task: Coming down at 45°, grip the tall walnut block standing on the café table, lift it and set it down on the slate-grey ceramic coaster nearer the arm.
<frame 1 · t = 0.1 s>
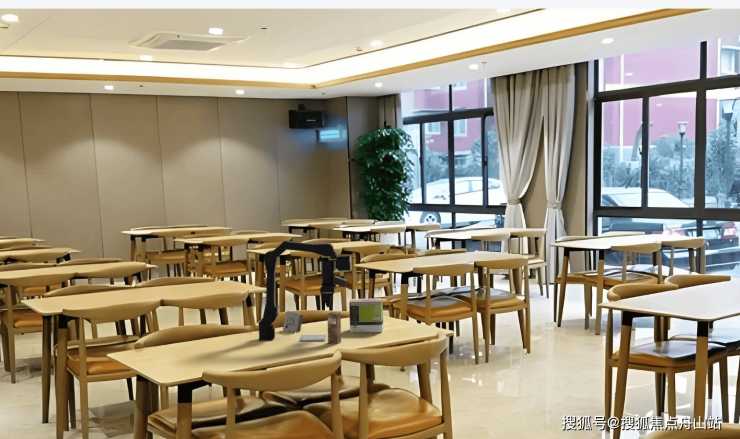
hand: (328, 305, 321), 15 cm above the table, tool pointing down, fingers open, 9 cm apart
electrical switch: (292, 331, 340), on the table
slate coaster: (313, 338, 321), on the table
tea box: (366, 331, 337), on the table
walnut block: (334, 342, 312), on the table
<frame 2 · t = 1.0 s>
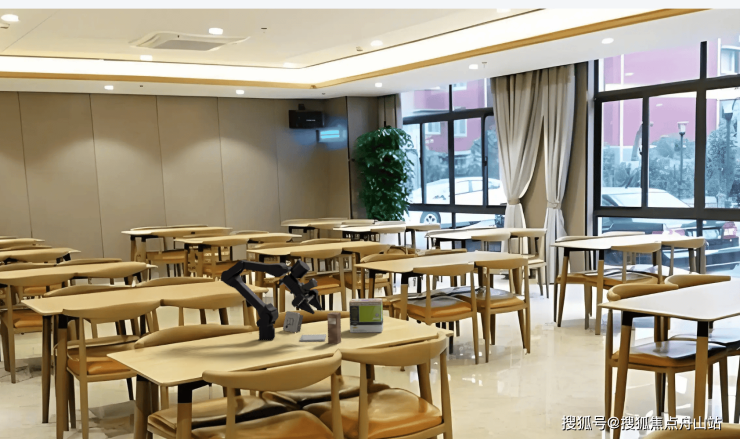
hand: (317, 311, 314), 13 cm above the table, tool tilted 45°, fingers open, 9 cm apart
nothing on the table moved.
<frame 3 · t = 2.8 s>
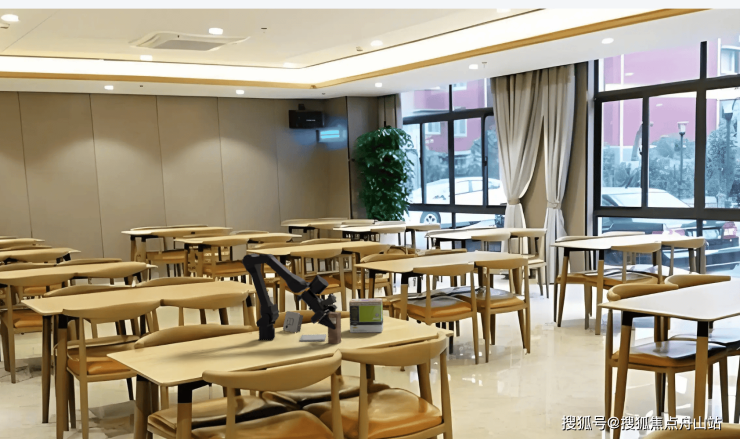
hand: (337, 327, 311), 7 cm above the table, tool tilted 45°, fingers closed on walnut block, 5 cm apart
walnut block: (334, 342, 312), on the table, touching gripper
everything else where it was.
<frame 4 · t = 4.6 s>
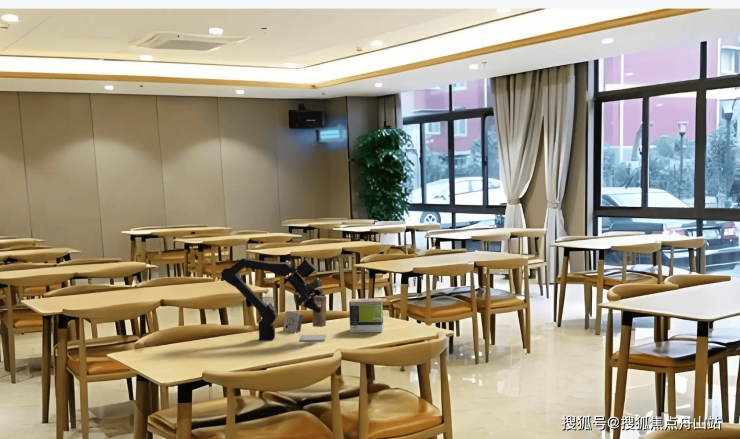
hand: (322, 311, 317), 13 cm above the table, tool tilted 45°, fingers closed on walnut block, 5 cm apart
walnut block: (319, 325, 317), point 6 cm above the table, touching gripper
everything else where it was.
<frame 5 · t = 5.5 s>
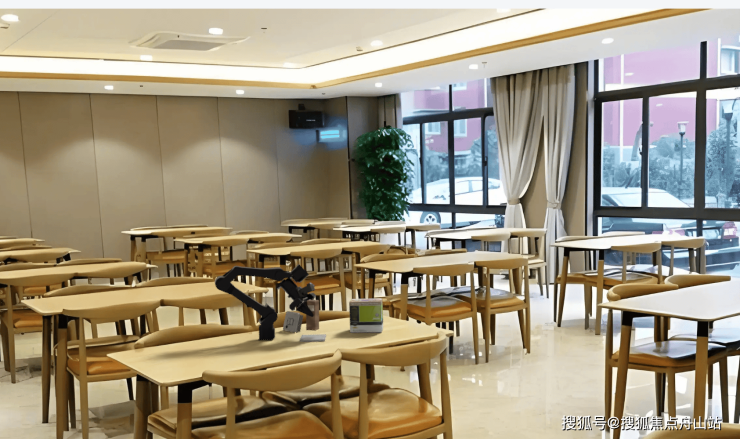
hand: (315, 315, 320), 11 cm above the table, tool tilted 45°, fingers closed on walnut block, 5 cm apart
walnut block: (312, 329, 321), point 4 cm above the table, touching gripper
everything else where it was.
when the fingers open (7 cm above the table, at t = 6.4 s): walnut block stays where it is, resting on slate coaster.
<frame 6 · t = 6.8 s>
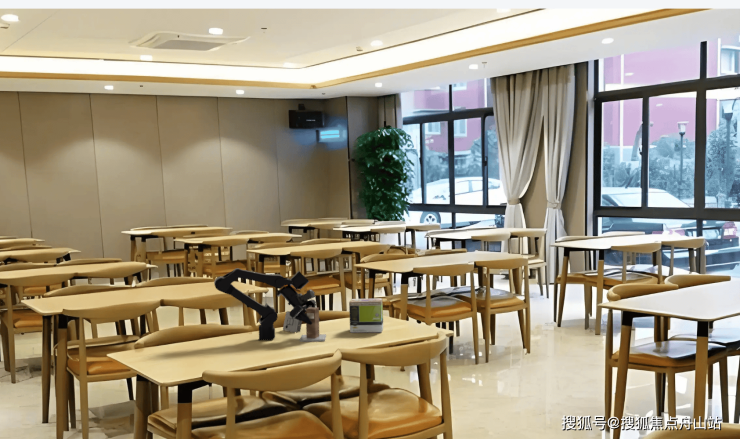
hand: (315, 322, 320), 8 cm above the table, tool tilted 45°, fingers open, 9 cm apart
walnut block: (312, 337, 321), point 1 cm above the table, touching slate coaster
everything else where it was.
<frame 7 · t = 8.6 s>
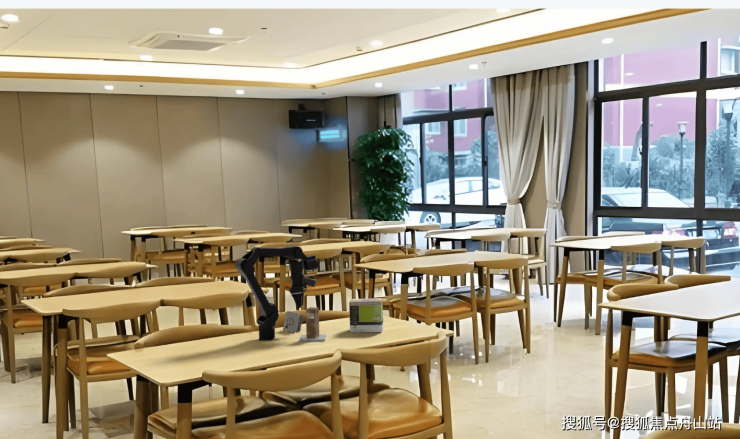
hand: (301, 306, 329), 13 cm above the table, tool pointing down, fingers open, 9 cm apart
nothing on the table moved.
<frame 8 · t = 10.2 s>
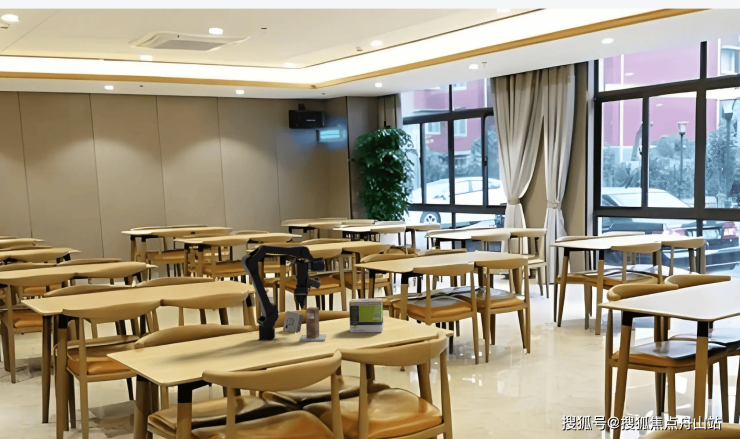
hand: (303, 306, 329), 13 cm above the table, tool pointing down, fingers open, 9 cm apart
nothing on the table moved.
at the end: walnut block inside the target area (0.1 cm from its centre), point 0.8 cm above the table; walnut block tilted 0°; the gripper is holding nothing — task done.
